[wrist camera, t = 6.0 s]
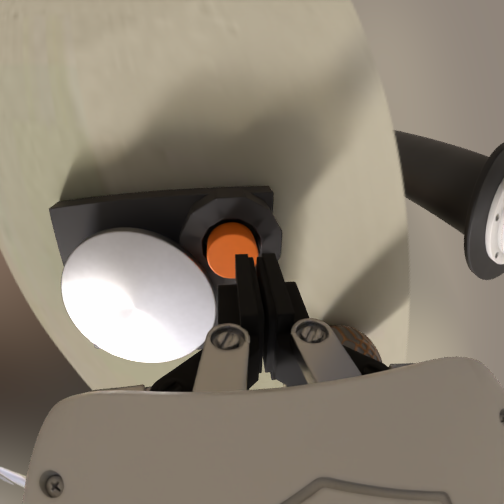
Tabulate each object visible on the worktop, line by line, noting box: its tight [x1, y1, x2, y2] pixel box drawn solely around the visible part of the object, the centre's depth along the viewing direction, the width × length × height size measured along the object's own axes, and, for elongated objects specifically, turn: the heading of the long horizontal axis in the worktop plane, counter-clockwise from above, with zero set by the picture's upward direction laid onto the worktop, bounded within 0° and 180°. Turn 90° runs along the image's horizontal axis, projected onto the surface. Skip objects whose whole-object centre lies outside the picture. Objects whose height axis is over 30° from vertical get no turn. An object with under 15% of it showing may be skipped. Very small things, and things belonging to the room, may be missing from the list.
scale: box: [49, 186, 282, 349], centre depth 18 cm, size 14×12×3 cm
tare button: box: [207, 222, 258, 278], centre depth 15 cm, size 3×3×2 cm
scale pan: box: [61, 227, 216, 363], centre depth 16 cm, size 10×10×1 cm
